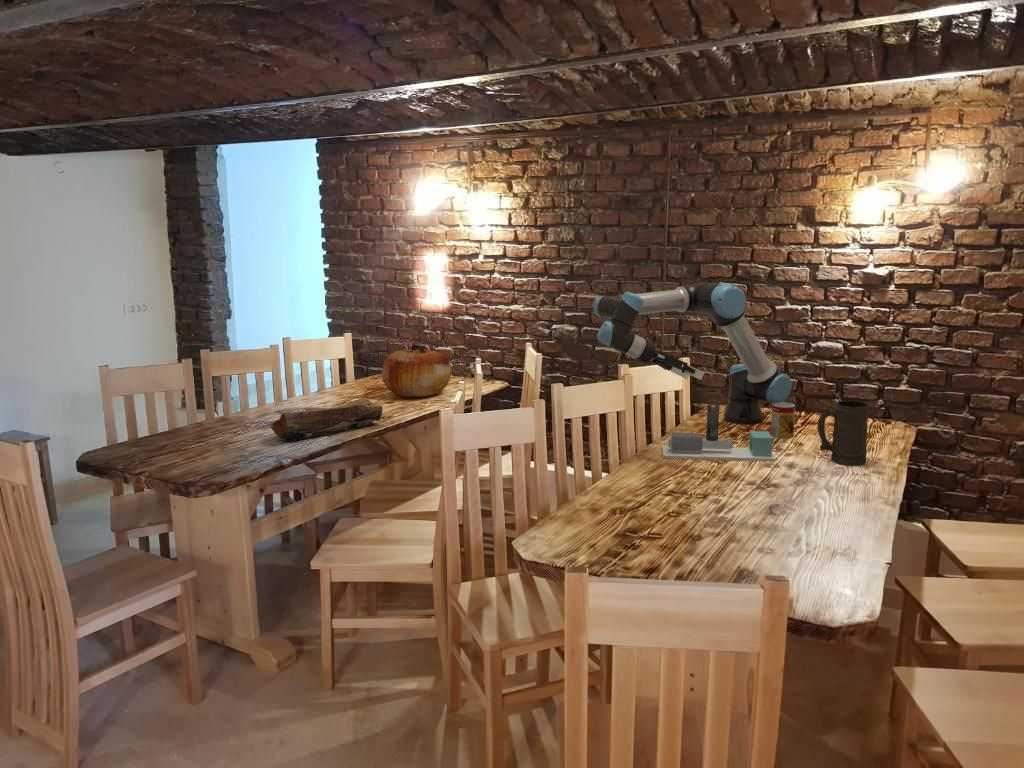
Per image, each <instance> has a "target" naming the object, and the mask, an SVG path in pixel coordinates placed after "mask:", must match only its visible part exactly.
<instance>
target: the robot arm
mask: <svg viewBox="0 0 1024 768" xmlns="http://www.w3.org/2000/svg"><path fill="white" fill-rule="evenodd" d="M746 302H747V298H746V295H745V293H744V291H743V290H742V289H741V288H740V287H738V286H736V285H733V284H730V283H714V282H699V283H695V284H688V285H684V286H683V285H682V286H677V287H676V288H675V289H672V290H671V289H670V290H662V291H660V290H659V291H650V292H641V293H633V292H630V291H625V292H624V293H623V294H621V295H615V296H614V295H612V296H607V295H601V296H598V297H596V298H595V299H594V301H593V303H592V304H593V305H592V311H593V313H594V314H595V316H598V317H600V318H603V319H608V320H605V321H604V322H603V323H602V324H601V326H600V327H599V330H598V332H597V335H596V338H597V340H598V342H600V343H602V344H604V345H605V346H607V347H609V348H611V349H614V350H615V351H618V352H620V353H622V354H625V355H626V356H627V358H628V359H629V358H630V357H631V358H632V359H634V360H635V359H636V361H638V362H639V363H643V364H645V365H646V364H648V363H649V362H651V363H652V364H655V365H657V366H658V367H660V368H662V369H663V370H665V371H668V372H671V373H673V374H675V375H678V376H680V377H682V378H684V379H686V380H688V379H689V377H690V376H692V377H694V378H695V379H698V380H700V381H701V380H703V376H704V375H705V372H704V371H702V370H700V369H698V368H696V367H693V366H691V365H689V364H688V362H686V361H683V360H681V359H677V358H675V357H673V356H670V355H668V354H666V353H663V352H662V351H656V348H657V345H656V344H655V343H654V342H651V341H650V340H648V339H647V340H646V339H645V338H644V337H641V336H640V335H638V334H636V333H633V332H631V331H632V329H633V327H634V324H635V322H636V320H637V318H638V316H639V315H645V314H655V313H665V312H673V311H677V312H678V313H695V314H699V315H700V314H701V315H705V316H710V317H711V319H712V321H713V322H714V324H715V326H716V327H719V328H722V329H723V331H724V333H725V334H726V337H727V338H728V339H729V341H730V343H731V345H732V346H733V348H734V350H735V352H736V353H737V356H738V357H739V358H740V360H741V362H742V363H738V364H733V365H731V367H730V369H729V377H728V378H729V382H728V384H729V386H728V402H727V405H726V407H725V411H724V412H723V421H725V422H726V423H730V424H734V425H741V426H742V425H748V426H749V425H758V424H759V425H760V424H761V423H763V421H764V415H763V413H762V409H761V404H760V401H762V402H766V403H769V404H773V403H777V402H785V401H786V400H787V398H788V397H789V396H790V393H791V391H792V386H793V385H792V379H791V377H790V376H789V375H788V374H786V373H782V372H781V371H780V369H779V368H778V365H777V364H776V363H775V362H773V361H770V360H769V359H768V356H767V354H766V352H764V351H765V350H764V349H763V347H762V346H761V344H760V342H759V340H758V338H757V337H756V335H755V333H754V331H753V329H752V328H751V326H750V324H749V321H748V320H747V319H746V317H745V315H746V312H747V311H746V307H747V306H746V305H747V304H746ZM609 319H610V320H609Z"/></svg>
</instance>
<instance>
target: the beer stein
mask: <svg viewBox="0 0 1024 768" xmlns="http://www.w3.org/2000/svg"><path fill="white" fill-rule="evenodd" d="M869 407H870V406H869V404H868V403H866V402H863V401H858V400H842V401H837V403H836V405H835V408H834V409H830V408H828V407H822V408H821V413H820V415H819V418H818V420H817V433H818V435H819V439H820V440H821V444H820V446H819V449H820V451H821V452H823V451H829V452H830V453H831V456H830V460H831V461H832V462H833V463H836V464H837V465H841V466H842V465H843V466H847V467H858V466H859V467H860V466H864V465H866V463H867V454H868V453H867V452H868V451H867V444H868V443H867V440H868V417H869V416H868V415H869V412H870V408H869ZM828 417H833V418H834V422H833V433H832V443H829V442H828V439H827V435H826V431H825V423H826V419H827V418H828Z"/></svg>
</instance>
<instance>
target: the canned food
mask: <svg viewBox="0 0 1024 768" xmlns="http://www.w3.org/2000/svg"><path fill="white" fill-rule="evenodd" d="M771 407H772V409H771V427H770V435H771V437H772V438H775V439H781V440H782V439H783V440H790V439H793V438H794V430H795V415H796V414H795V413H796V404H794V403H791V402H785V401H783V402H777V403H772V406H771Z"/></svg>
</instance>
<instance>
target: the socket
mask: <svg viewBox="0 0 1024 768" xmlns="http://www.w3.org/2000/svg"><path fill="white" fill-rule="evenodd" d="M748 443H749V444H748V448H749V450H750V452H751V454H752V456H761V457H771V454H773V452H772V450H773V437H772V436H771V433H770V432H769V431H760V430H759V431H752V430H751V431H749V442H748Z"/></svg>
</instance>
